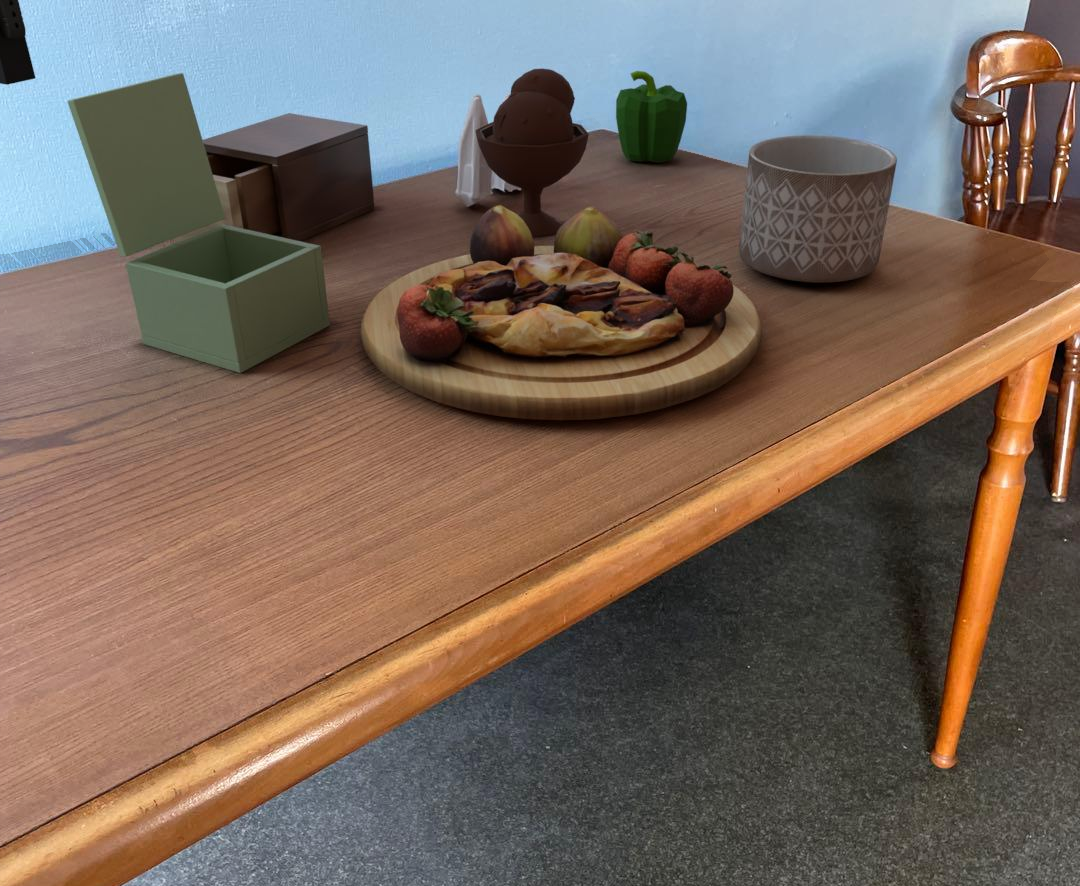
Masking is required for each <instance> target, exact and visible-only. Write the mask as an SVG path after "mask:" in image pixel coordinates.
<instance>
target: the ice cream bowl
mask: <svg viewBox="0 0 1080 886" xmlns="http://www.w3.org/2000/svg"><path fill="white" fill-rule="evenodd" d="M574 94H575V93H574V90H573V88H572V87H571V84H570V82H569V81H568V80H567V79H566V78H565V77H564V75H562V74H560V73H559V72H557V71H556V70H553V69H551V68H550V69H549V68H533V69H531V70H529V71H526V72H525V73H523V74H522V75H521V76H520V77H518V78H517V79H515V80H514V82H513V83H512V85H511V87H510V95H509V97H508V98H507V99H506V100H505V101H504V102H503V101H502V103H501V104H500V105H499V106H498V108H497V109H496V111H495V114H494V116H493V121H492V122H488V124H487V125H485V126H483V127H481V128H479V129H477V130H475V131H476V136H477V141H478V145H479V148H480V150H481V152H482V154H483V156H484V158H485V160H486V163H487V165H488V167H489V168H490V169H491V170H492V171H493V172H494V173H495V174H496V175H497V176H498V177H499V178H501V179H502V180H504V181H505V182H507V183H508V184H510V185H513V186H516V187H519V188H521V190H520V191H521V192H522V195H523V209H522V211H520V212H519V213H517V215H518V216H519V217H520V218H522V219H523V220H524V222H525V223H526V225H527V227H528V228H529V230H530V232H531V235H532V237H534V238H538V237H544V236H549V235H553V234H555V233H557V231H558V230H559V228H560V226H559V223H558V221H557V219H556V218H555V217H553V216H552V215H549V214H548V213H546V212H544V211H543V210H542V203H541V202H542V201H541V200H542V199H541V196H542V193H543V191H544V189H546V188H548V187H551V186H552V185H554V184H555V183H557V182H559V181H560V180H562V179H563V178H565V177H566V176H567V175H569V174H570V173H571V172H572V171H573V170H574V169H575V167H577V166H578V164H580V162H581V160H582V158H583V156H584V153H585V152H586V150H587V144H588V141H589V140H588V139H589V135H590V134H589V132H588V131H587V130H586V129H585V127H583V125H582V124H579V123H574V122H573V118H572V115H571V113H572V111H573V108H574V105H575V100H576V97H575V95H574Z"/></svg>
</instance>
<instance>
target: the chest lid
mask: <svg viewBox="0 0 1080 886" xmlns="http://www.w3.org/2000/svg"><path fill="white" fill-rule="evenodd" d="M67 105H68V109H69V110H70V113H71V116H72V117H71V118H72V120H73V122H74V125H75V129H76V131H77V135H78V137H79V140H80V142H81V146H82V148H83V152H84V154H85V155H84V156H85V157H86V161H87V163H88V166H89V169H90V172H91V175H92V177H93V181H94V184H95V187H96V189H97V192H98V195H99V198H100V201H101V204H102V207H103V210H104V212H105V216H106V219H107V222H108V224H109V227H110V230H111V232H112V236H113V239H114V242H115V244H116V248H117V251H118V254H119V256H120V257H121V258H123V257H125V258H126V257H129V256H132V255H135V254H138V253H140V252H143V251H145V250H148V249H151V248H153V247H155V246H158V245H160V244H164V243H165V242H169V241H172V240H171V239H174V238H176V237H179V236H181V235H184V234H187V233H189V232H192V231H194V230H197V229H200V228H202V227H205V226H207V225H210V224H213V223H215V222H218V221H220V220H223V219H225V216H224V212H223V209H222V205H221V202H220V198H219V195H218V192H217V188H216V185H215V181H214V178H213V174H212V171H211V167H210V164H209V161H208V157H207V154H206V150H205V147H204V143H203V140H204V139H203V137H202V133H201V130H200V126H199V123H198V119H197V117H196V111H195V110H194V105H193V102H192V99H191V95H190V92H189V89H188V85H187V82H186V79H185V75H184V73H183V72H179V73H174V74H170V75H166V76H161V77H159V78H153V79H149V80H145V81H142V82H137V83H133V84H129V85H125V86H121V87H117V88H113V89H109V90H104V91H101V92H96V93H93V94H92V93H91V94H88V95H84V96H80V97H76V98H71V99H68V100H67Z"/></svg>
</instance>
